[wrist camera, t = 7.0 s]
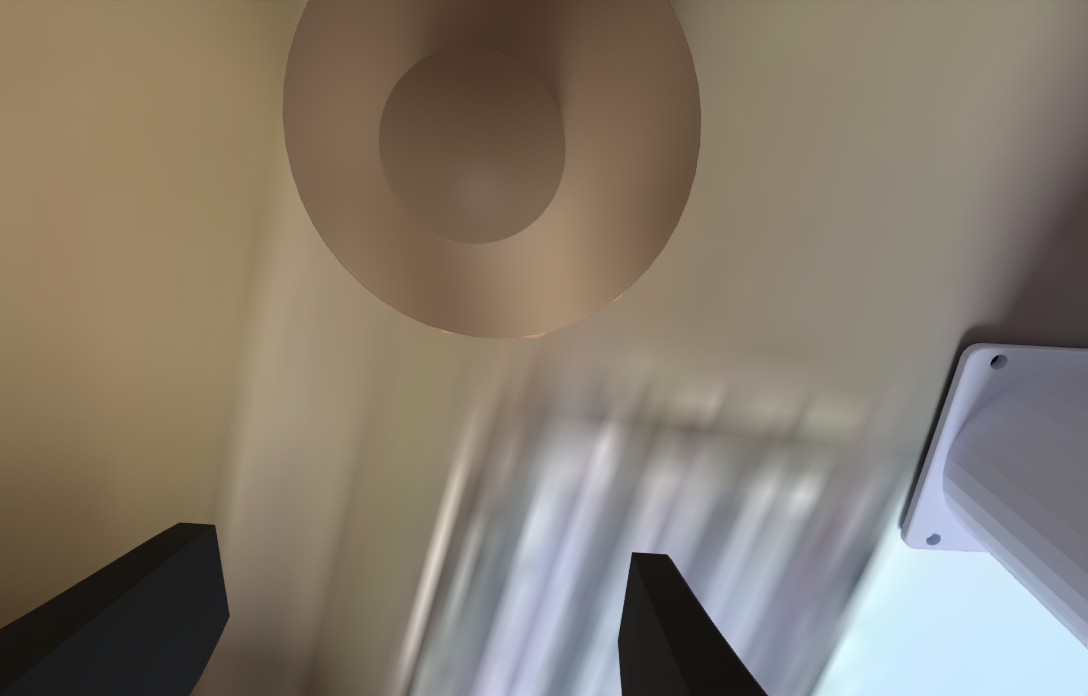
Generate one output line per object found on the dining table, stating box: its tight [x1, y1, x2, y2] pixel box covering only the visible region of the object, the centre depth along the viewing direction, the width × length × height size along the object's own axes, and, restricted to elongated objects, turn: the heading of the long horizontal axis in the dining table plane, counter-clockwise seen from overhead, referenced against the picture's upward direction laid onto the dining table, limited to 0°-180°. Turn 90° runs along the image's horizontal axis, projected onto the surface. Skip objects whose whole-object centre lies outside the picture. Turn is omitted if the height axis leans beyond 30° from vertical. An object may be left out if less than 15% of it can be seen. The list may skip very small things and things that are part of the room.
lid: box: [283, 0, 701, 338], centre depth 11 cm, size 9×9×4 cm
